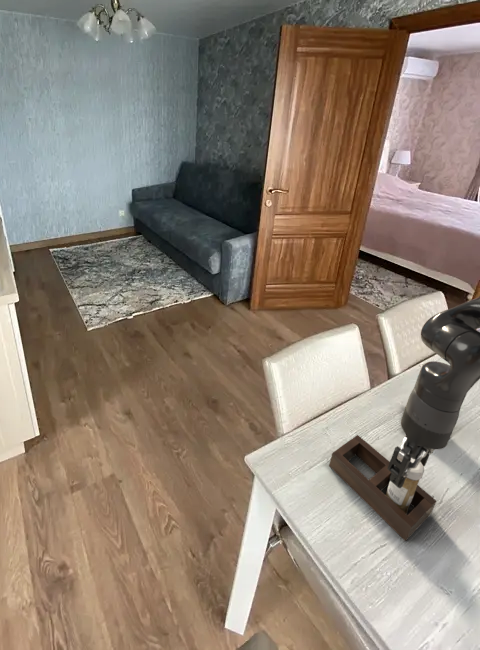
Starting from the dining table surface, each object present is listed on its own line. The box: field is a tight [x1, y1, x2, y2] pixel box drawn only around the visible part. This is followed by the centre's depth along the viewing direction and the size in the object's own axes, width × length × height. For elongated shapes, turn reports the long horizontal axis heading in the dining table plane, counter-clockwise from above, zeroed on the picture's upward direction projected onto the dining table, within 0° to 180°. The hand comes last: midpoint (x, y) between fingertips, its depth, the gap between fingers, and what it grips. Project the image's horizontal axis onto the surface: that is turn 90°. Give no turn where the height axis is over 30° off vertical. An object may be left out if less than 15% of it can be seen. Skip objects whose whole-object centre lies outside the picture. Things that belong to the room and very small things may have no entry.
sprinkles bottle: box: [385, 458, 425, 515], centre depth 72 cm, size 5×5×14 cm
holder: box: [328, 434, 438, 542], centre depth 77 cm, size 10×18×4 cm, turn 30°
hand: (407, 473), depth 71 cm, fingers open, 8 cm apart
